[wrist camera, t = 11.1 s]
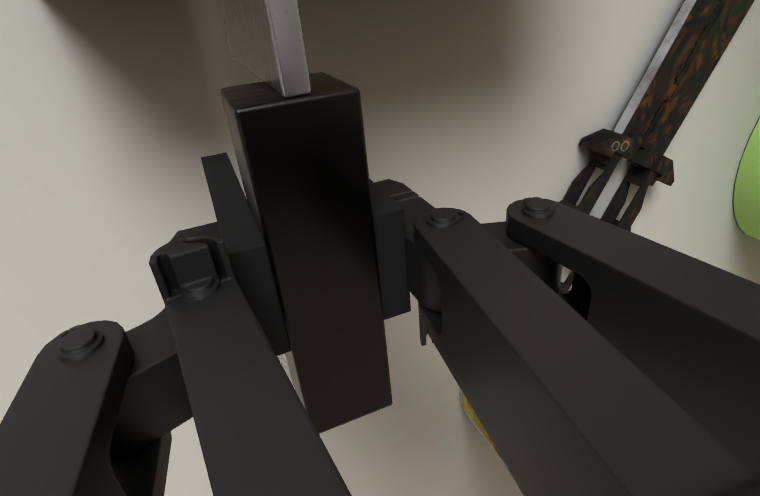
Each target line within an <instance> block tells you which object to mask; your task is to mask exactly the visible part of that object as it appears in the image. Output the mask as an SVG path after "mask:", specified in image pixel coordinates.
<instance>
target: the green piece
mask: <svg viewBox="0 0 760 496" xmlns="http://www.w3.org/2000/svg"><path fill="white" fill-rule="evenodd" d="M733 201H734V213H735V217H736V220H737V223H738V225H739V227H740V228H741V230H742V231H743V232H744V233H745V234H746V235H748V236H751V237H753V238H755V239H758V240H760V119H759V121H758V123H757V125H756V127H755V129H754V131H753V133H752V135H751V137H750V139H749V141H748V144H747V147H746V149H745V152H744V154H743V157H742V160H741V163H740V166H739V170H738V174H737V178H736V182H735V191H734V200H733Z"/></svg>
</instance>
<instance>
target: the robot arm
mask: <svg viewBox="0 0 760 496" xmlns="http://www.w3.org/2000/svg"><path fill="white" fill-rule="evenodd" d="M201 160H202V164H203V168H204V171H205V175H206V179H207V183H208V187H209V191H210V195H211V198H212V202H213V206H214V210H215V214H216V218H217V222H214V223H210V224H206V225H202V226H198V227H194V228H190V229H185V230H181V231H178V232H177V233H176V234H175V236H174V237H173V238H172V240H171V241H170V242H169V243H167V244H165V245H164V246H162V247H160V248H159V249H157V250H156V251H155V252H154V253H153V254H152V255H151V257H150V261H149V265H150V267H151V270H152V272H153V275H154V277H155V280H156V282H157V285H158V287H159V290H160V292H161V295H162V298H163V300H164V303H165V308H164V309H163V310H162V311H161V312H160V313H159V314H158V315H156V316H155V317H154V318H152V319H151V320H149V321H147V322H145V323H143V324H142V325H140V326H137V327H135V328H133V329H131V330H129V331H127V332H125V331H124V329H123V327H122V326H120V325H119V324H118V323H117V322H112V321H107V320H104V321H95V322H89V323H86V324H83V325H78V326H75V327H73V328H70V330H66V331H65V332H63V333H61V334H60V335H58V336H57V337H56V338H54V339H53V340H52V341H50V342H49V343H48V344H46V345H45V347H44V348H43V349H42V350H41V351H40V353H39V354H38V355H37V357H36V359H35V361H34V362H33V364H32V366H31V368H30V370H29V372H28V374H27V375H26V377H25V379H24V381H23V383H22V385H21V387H20V388H19V390H18V392H17V394H16V396H15V398H14V400H13V401H12V403H11V405H10V407H9V409H8V411H7V413H6V414H5V416H4V418H3V420H2V422H1V424H0V496H164V491H165V484H166V477H167V470H168V463H169V455H170V448H171V441H172V438H171V430H173V429H174V428H176V427H178V426H179V425H181V424H182V423H184V422H186V421H187V420H189V419H190V418H192V417H194V421H195V425H196V429H197V433H198V437H199V441H200V445H201V449H202V453H203V457H204V460H205V464H206V468H207V472H208V476H209V480H210V484H211V488H212V492H213V496H352V495H351V494H350V492H349V490H348V488H347V486H346V484H345V482H344V481H343V479H342V477H341V475H340V473H339V471H338V469H337V467H336V466H335V464H334V462H333V460H332V458H331V456H330V454H329V453H328V451H327V449H326V447H325V445H324V443H323V441H322V439H321V438H320V436H319V434H318V432H317V430H316V428H315V426H314V425H313V423H312V421H311V419H310V417H309V415H308V413H307V411H306V410H305V408H304V406H303V404H302V402H301V400H300V398H299V397H298V395H297V393H296V391H295V389H294V387H293V385H292V383H291V382H290V380H289V378H288V376H287V374H286V372H285V370H284V368H283V367H282V365H281V363H280V361H279V359H278V357H277V356H278V355H281V354H284V353H287V352H290V351H291V350H290V346H289V341H288V337H287V333H286V329H285V325H284V321H283V317H282V312H281V308H280V304H279V300H278V296H277V292H276V288H275V283H274V279H273V275H272V271H271V267H270V263H269V259H268V254H267V250H266V246H265V243H264V241H263V239H262V236H261V234H260V232H259V229H258V227H257V225H256V223H255V220H254V218H253V216H252V213H251V211H250V209H249V206H248V202H247V199H246V197H245V195H244V192H243V190H242V188H241V185H240V183H239V181H238V178H237V176H236V174H235V171H234V169H233V167H232V164H231V162H230V160H229V157H228V155H227V153H221V154H216V155H211V156H206V157H201ZM369 183H370V192H371V202H372V211H373V221H374V231H375V240H376V250H377V259H378V269H379V279H380V288H381V298H382V307H383V317H384V320H385V319H388V318H391V317H394V316H397V315H400V314H403V313H406V312H409V311H411V306H410V292H411V293H412V294H413V295H414V297H415V298H416V299H417V300H418V309H419V326H420V340H421V345H422V346H424V345H426V335H427V334H429V336H430V338H431V339H432V343H434V345H435V346H436V348H437V350H438V351H439V353H440V355H441V356H442V358H443V360H444V361H445V363H446V365H447V367H448V368H449V370H450V372H451V373H452V375H453V377H454V378H455V380H456V382H457V383H458V385H459V387H460V389H461V390H462V392H463V394H464V395H465V397H466V399H467V400H468V402H469V404H470V405H471V407H472V409H473V410H474V412H475V414H476V416H477V417H478V419H479V421H480V422H481V424H482V426H483V427H484V429H485V431H486V432H487V434H488V436H489V438H490V439H491V441H492V443H493V444H494V446H495V448H496V449H497V451H498V453H499V454H500V456H501V458H502V460H503V461H504V463H505V465H506V466H507V468H508V470H509V471H510V473H511V475H512V476H513V478H514V480H515V481H516V483H517V485H518V487H519V488H520V490H521V492H522V493H523V495H524V496H760V285H759V284H756V283H754V282H751V281H749V280H747V279H744V278H742V277H739V276H737V275H734V274H732V273H730V272H727V271H725V270H722V269H720V268H717V267H715V266H712V265H710V264H708V263H705V262H703V261H700V260H698V259H695V258H693V257H691V256H688V255H686V254H683V253H681V252H678V251H676V250H673V249H671V248H669V247H666V246H664V245H661V244H659V243H656V242H654V241H652V240H649V239H647V238H644V237H642V236H639V235H637V234H634V233H632V232H630V231H627V230H625V229H622V228H620V227H617V226H615V225H612V224H610V223H608V222H605V221H603V220H600V219H598V218H595V217H593V216H591V215H588V214H586V213H583V212H581V211H578V210H576V209H573V208H571V207H569V206H566V205H564V204H561V203H559V202H555V201H552V200H549V199H541V198H539V197H532V198H525V199H523V200H518V201H515V202H513V203H512V204H510V205H509V206H508V208H507V212H506V221H505V222H495V223H485V224H480V223H479V222H478V221H477V220H476V219H475V218H473V217H472V216H471V215H470V214H468V213H467V212H465V211H463V210H460V209H455V208H434V207H433V206H432V205H430V204H429V203H428V202H427V201H425V200H424V199H423V198H421V197H419V195H417V194H416V193H415V192H412V190H411V189H410V188H408V187H407V186H406V185H404V184H403V183H400V182H397V181H393V180H390V179H387V180H383V181H379V182H375V183H374V182H373V181H372V180H371V179H369ZM562 266H565V267H566V268H568V269H570V270H572V271H574V276H573V283H572V288H571V291H569V290H566V289H564V288H562V287H560V281H561V273H562Z"/></svg>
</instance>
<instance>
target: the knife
mask: <svg viewBox="0 0 760 496" xmlns="http://www.w3.org/2000/svg"><path fill="white" fill-rule="evenodd" d="M719 1H720V0H685V2H684V3H683V5H682V7H681V9H680V11H679V12H678V14H677V16H676V18H675V20H674V22H673V23H672V25H671V27H670V29H669V31H668V33H667V34H666V36H665V38H664V40H663V42H662V43H661V45H660V47H659V49H658V51H657V53H656V54H655V56H654V58H653V60H652V62H651V64H650V65H649V67H648V69H647V71H646V73H645V74H644V76H643V78H642V80H641V82H640V84H639V85H638V87H637V89H636V91H635V93H634V95H633V96H632V98H631V100H630V102H629V104H628V105H627V107H626V109H625V111H624V113H623V115H622V116H621V118H620V120H619V122H618V124H617V126H616V127H615V129H614V131H610V130H606V129H601V130H599V131H597V132H595V133H592V134H590V135H588V136H586V137H584V138H582V139H581V141H580V143H579V145H581V146H583V147H585V148H587V149H589V150H591V151H594V152H595V153H594V155H593V157H592V158H591V161H590V163H589V164H588V165H587V166H586V168H585V169H584V170H583V171H582V172H581V173H580V174H579V175H578V176H577V177H576V178H575V179H574V181H573V182H572V184H571V186H570V188H569V190H568V191H567V193H566V195H565V197H564V199H563V200H562V201H560V202H559V203H561V204H564V205H566V206H569V207H571V208H573V209H576V210H578V211H581V212H583V213H586V214H588V215H589V214H590V212H591V210H592V208H593V207H594V205H595V203H596V201H597V200H598V198H599V196H600V194H601V192H602V191H603V189H604V187H605V185H606V184H607V182H608V180H609V178H610V176H611V175H612V173H613V171H614V169H615V168H616V166H617V164H618V162H619V160H620V159H621V157H624V158H627V159H629V161H631V162H633V163H634V164H636V165H637V166H635V165H632V166H631V168H630V170H629V172H628V173H627V175H626V177H625V179H624V180H623V182H622V184H621V186H620V187H619V189H618V191H617V193H616V194H615V196H614V198H613V200H612V201H611V203H610V205H609V207H608V208H607V210H606V212H605V213H604V215H603V217H602V219H600V220H603V221H605V222H608V223H610V224H612V225H615V226H617V227H620V228H622V229H625V230H627V231H630V232H631V225H632V224H633V222H634V220H635V219H636V217H637V215H638V214H639V212H640V210H641V208H642V204H643V201H644V197H645V194H646V190H647V188H648V186H649V185H651V186H653V185H654V183H655V182H656V181H660V182H662V183H664V184H667V185H669V186H671V185H672V184H673V182H674V170H673V160H671V159H669V158H667V157H665V156H663V154H664V153H665V151H666V149H667V148H668V146H669V144H670V142H671V141H672V139H673V137H674V136H675V134H676V132H677V131H678V129H679V127H680V126H681V124H682V122H683V120H684V119H685V117H686V115H687V114H688V112H689V110H690V109H691V107H692V105H693V104H694V102H695V100H696V98H697V97H698V95H699V93H700V92H701V90H702V88H703V87H704V85H705V83H706V82H707V80H708V78H709V76H710V75H711V73H712V71H713V70H714V68H715V66H716V65H717V63H718V61H719V60H720V58H721V56H722V54H723V53H724V51H725V49H726V48H727V46H728V44H729V43H730V41H731V39H732V38H733V36H734V34H735V32H736V31H737V29H738V27H739V26H740V24H741V22H742V21H743V19H744V17H745V16H746V14H747V12H748V10H749V9H750V7H751V5H752V4H753V2H754V0H722V1H721V3H720V5H719V6H718V8H717V10H716V12H715V13H714V15H713V17H712V19H711V20H710V22H709V24H708V26H707V27H706V29H705V31H704V33H703V34H702V36H701V38H700V40H699V41H698V43H697V45H696V47H695V48H694V50H693V52H692V54H691V55H690V57H689V59H688V61H687V62H686V64H685V66H684V68H683V69H682V71H681V73H680V75H679V76H678V78H677V80H676V82H675V83H674V84H673V81H674V80H675V78H676V76H677V74H678V73H679V71H680V69H681V67H682V66H683V64H684V62H685V60H686V59H687V57H688V55H689V53H690V52H691V50H692V48H693V46H694V45H695V43H696V41H697V39H698V38H699V36H700V34H701V32H702V30H703V29H704V27H705V25H706V23H707V22H708V20H709V18H710V16H711V15H712V13H713V11H714V9H715V8H716V6H717V4H718V2H719ZM663 100H665V101H664V103H663V104H662V106H661V108H660V110H659V111H658V113H657V115H656V117H655V118H654V120H653V122H652V124H651V125H650V127H649V129H648V131H647V132H646V134H645V136H644V138H643V139H642V136H643V134H644V132H645V131H646V129H647V127H648V125H649V124H650V122H651V120H652V118H653V117H654V115H655V113H656V111H657V110H658V108H659V106H660V104H661V102H662V101H663ZM595 168H599V169H602V170H604V172H603V173H602V174H601V175H600V176H599V177H598V178H597V179H596V180H595V181H594V182H593V183H592V184H591V185H590V187H589V188H588V189H587V191H586V193H585V195H584V197H583V198H582V200H581V202H580V204H579V206H576V203H577V201H578V199H579V197H580V195H581V194H582V192H583V190H584V188H585V186H586V184H587V183H588V181H589V179H590V177H591V175H592V174H593V172H594V170H595ZM630 183H632V184H635V185H637V186H640V187H639V189H638V190H637V192H636V194H635V195H634V197H633V199H632V201H631V202H630V204H629V206H628V207H627V209H626V211H625V213H624V214H623V216H622V218H621V219H620V221H618V220H616V217H617V216H618V214H619V212H620V210H621V209H622V207H623V205H624V204H625V202H626V198H627V194H628V190H629V186H630ZM573 276H574V271H571V273H570V274H569V276H568V278H567V280H566V281H565V283H562V282H560V287H562V288H564V289H566V290H569V288H570V286H571V285H572V283H573Z"/></svg>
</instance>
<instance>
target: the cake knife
mask: <svg viewBox="0 0 760 496" xmlns="http://www.w3.org/2000/svg"><path fill="white" fill-rule="evenodd" d="M218 2H219V6H220V11H221V15H222V19H223V24H224V28H225V33H226V37H227V41H228V46H229V50H230V54H231V56H233V57H234V58H235V59H236V60H237V61H239V62H240V63H241V64H242V65H244V66H245V67H246V68H247V69H249V70H250V71H251V72H252V73H254V74H255V75H256V76H257V77H259V78H260V79H261V80H262V81H263V82H257V83H251V84H244V85H238V86H232V87H226V88H223V89H221V92H220V94H221V98H222V102H223V106H224V110H225V114H226V118H227V122H228V126H229V130H230V134H231V138H232V142H233V146H234V150H235V154H236V158H237V162H238V166H239V170H240V174H241V178H242V182H243V186H244V190H245V194H246V198H247V202H248V206H249V209H250V211H251V213H252V216H253V218H254V220H255V223H256V225H257V227H258V229H259V232H260V234H261V236H262V239H263V241H264V243H265V246H266V250H267V254H268V259H269V263H270V267H271V271H272V275H273V279H274V283H275V288H276V292H277V296H278V300H279V304H280V308H281V312H282V317H283V321H284V325H285V329H286V333H287V337H288V341H289V346H290V350H291V351H290V352H287V353H285V354H286V358H287V362H288V366H289V370H290V374H291V378H292V381H293V384H294V386H295V389H296V392H297V395H298V397H299V398H300V400H301V402H302V404H303V406H304V408H305V410H306V411H307V413H308V415H309V417H310V419H311V421H312V423H313V425H314V426H315V428H316V430H317V432H318V434H320V433H322V432H325V431H327V430H330V429H332V428H335V427H337V426H340V425H342V424H345V423H347V422H350V421H352V420H355V419H357V418H360V417H362V416H365V415H367V414H370V413H372V412H375V411H377V410H380V409H383V408H385V407H388V406H390V405H391V404H392V394H391V384H390V375H389V365H388V355H387V346H386V336H385V327H384V317H383V307H382V298H381V288H380V279H379V269H378V259H377V250H376V240H375V231H374V221H373V211H372V202H371V192H370V183H369V173H368V163H367V154H366V144H365V135H364V125H363V115H362V106H361V96H360V91H359V89H358V88H357V87H354V86H352V85H350V84H348V83H346V82H344V81H341V80H339V79H337V78H335V77H333V76H331V75H328V74H326V73H323V72H319V73H313V74H309V72H308V65H307V59H306V53H305V46H304V40H303V33H302V27H301V20H300V14H299V7H298V1H297V0H218Z"/></svg>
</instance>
